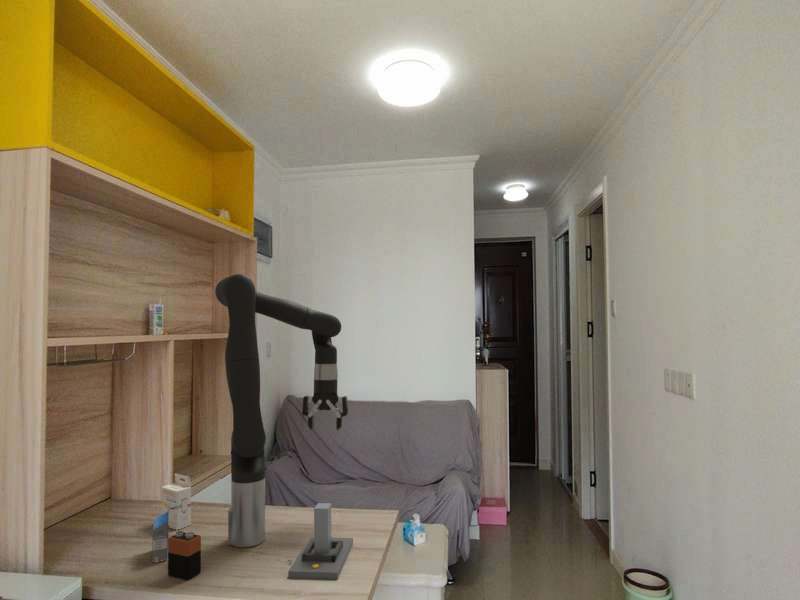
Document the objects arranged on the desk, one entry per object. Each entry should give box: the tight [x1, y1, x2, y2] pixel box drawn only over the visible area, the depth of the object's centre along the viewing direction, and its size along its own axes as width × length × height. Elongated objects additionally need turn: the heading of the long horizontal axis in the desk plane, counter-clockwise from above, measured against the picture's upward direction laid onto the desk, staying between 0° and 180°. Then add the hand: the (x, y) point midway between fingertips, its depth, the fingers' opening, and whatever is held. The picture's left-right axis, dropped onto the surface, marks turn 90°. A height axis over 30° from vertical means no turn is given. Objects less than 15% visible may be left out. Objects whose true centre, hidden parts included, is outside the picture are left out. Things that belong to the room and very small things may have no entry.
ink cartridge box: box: [160, 473, 192, 531], centre depth 155 cm, size 9×5×15 cm, turn 58°
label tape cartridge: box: [151, 502, 170, 563], centre depth 134 cm, size 9×4×12 cm, turn 23°
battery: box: [167, 530, 202, 581], centre depth 123 cm, size 4×7×10 cm, turn 66°
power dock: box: [287, 536, 354, 580], centre depth 130 cm, size 12×20×3 cm, turn 175°
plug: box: [313, 502, 333, 554], centre depth 130 cm, size 4×4×12 cm
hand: (325, 429), depth 160 cm, fingers open, 8 cm apart
